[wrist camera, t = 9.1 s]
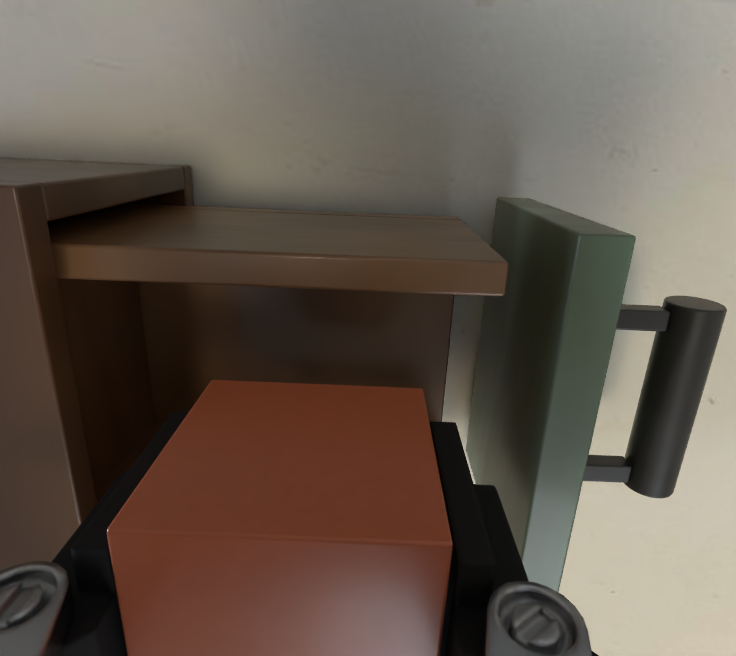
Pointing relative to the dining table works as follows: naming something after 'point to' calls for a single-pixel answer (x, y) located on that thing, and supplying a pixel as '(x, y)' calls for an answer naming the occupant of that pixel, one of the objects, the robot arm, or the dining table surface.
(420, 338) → the drawer
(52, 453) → the cabinet
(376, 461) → the block
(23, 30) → the dining table surface
